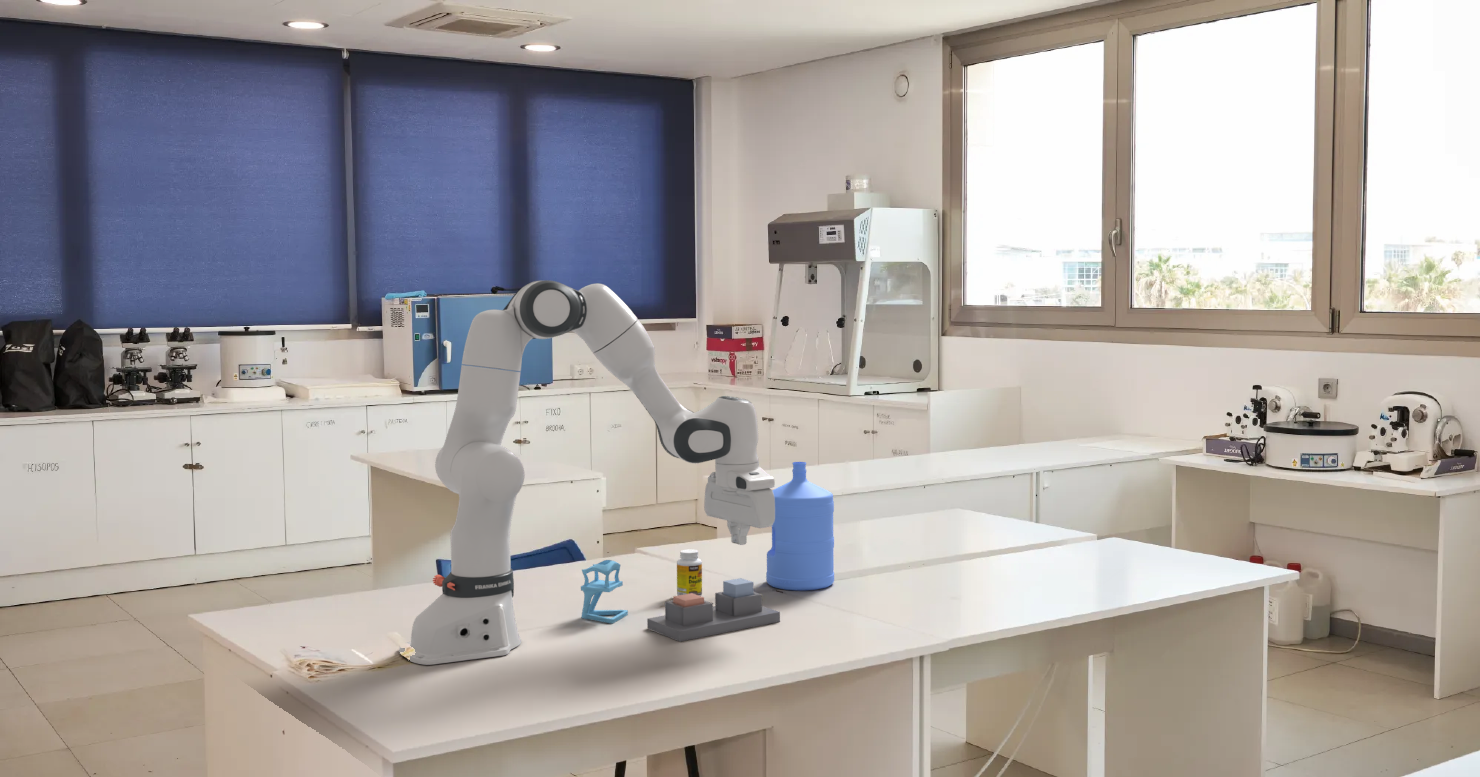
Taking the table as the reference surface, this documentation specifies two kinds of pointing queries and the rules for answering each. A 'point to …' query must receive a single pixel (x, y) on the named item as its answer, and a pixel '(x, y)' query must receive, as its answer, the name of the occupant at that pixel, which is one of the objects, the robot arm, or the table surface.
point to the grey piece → (712, 617)
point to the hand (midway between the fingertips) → (739, 543)
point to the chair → (601, 586)
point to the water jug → (801, 535)
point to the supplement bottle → (689, 573)
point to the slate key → (738, 588)
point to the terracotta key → (688, 600)
